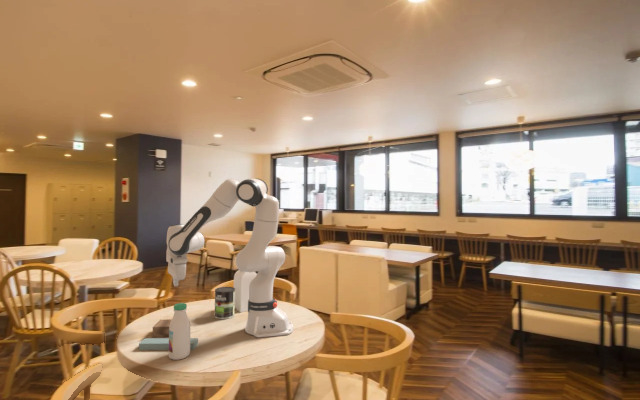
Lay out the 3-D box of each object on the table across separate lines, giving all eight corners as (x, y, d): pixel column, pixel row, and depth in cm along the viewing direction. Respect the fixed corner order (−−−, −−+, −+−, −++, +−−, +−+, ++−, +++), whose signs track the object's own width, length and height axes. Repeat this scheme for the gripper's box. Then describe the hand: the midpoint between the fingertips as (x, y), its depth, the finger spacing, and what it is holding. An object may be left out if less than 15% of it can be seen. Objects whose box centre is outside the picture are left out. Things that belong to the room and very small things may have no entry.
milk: (259, 308, 182) (260, 262, 182) (240, 312, 175) (241, 264, 175) (250, 303, 192) (251, 259, 192) (232, 306, 185) (232, 261, 185)
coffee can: (227, 320, 163) (227, 292, 163) (210, 317, 166) (210, 290, 167) (238, 313, 173) (238, 287, 173) (222, 311, 176) (222, 285, 176)
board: (198, 345, 136) (198, 338, 136) (193, 350, 131) (193, 343, 131) (145, 345, 135) (145, 338, 135) (138, 351, 130) (138, 343, 130)
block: (180, 329, 151) (180, 319, 151) (173, 337, 143) (174, 326, 143) (160, 330, 150) (160, 319, 150) (152, 338, 141) (152, 327, 141)
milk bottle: (193, 351, 130) (193, 301, 130) (185, 360, 122) (186, 307, 122) (173, 351, 129) (174, 301, 129) (165, 360, 122) (165, 307, 122)
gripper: (164, 254, 163) (164, 282, 163) (174, 261, 147) (173, 291, 147) (178, 253, 167) (177, 280, 167) (188, 259, 150) (188, 289, 150)
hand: (175, 285), depth 156 cm, fingers closed
